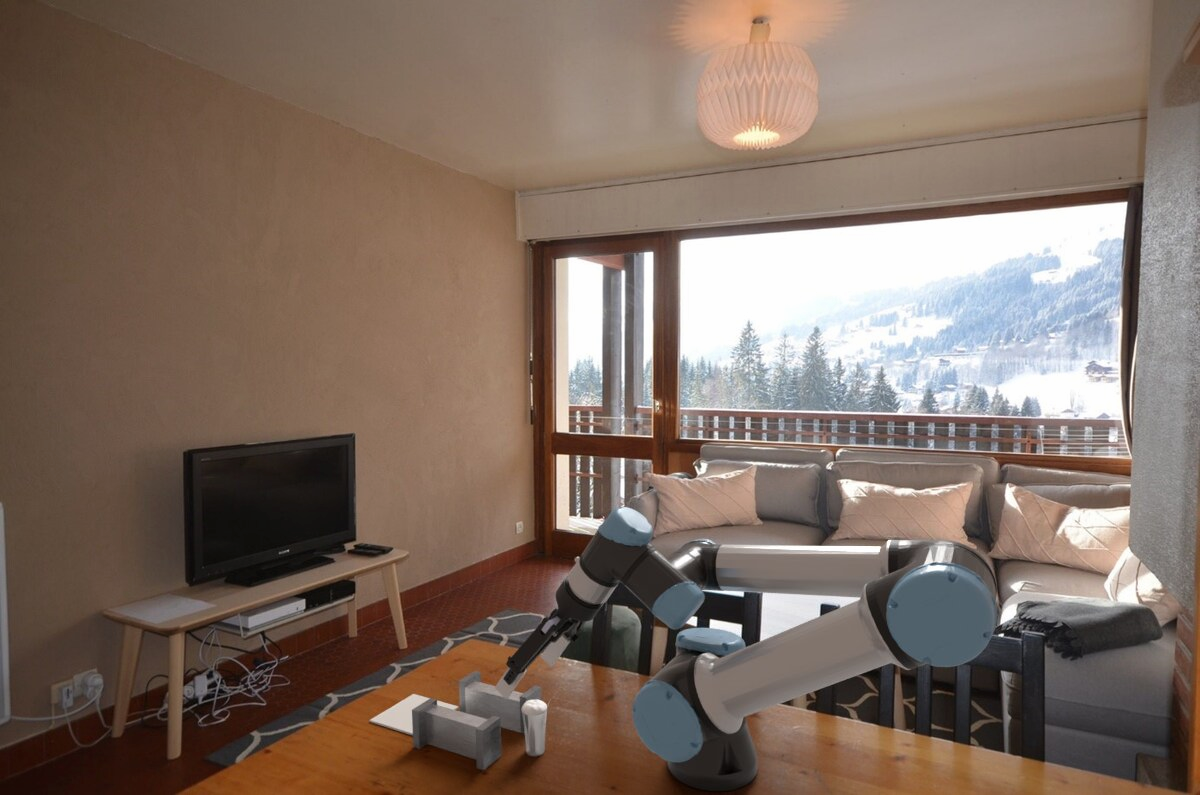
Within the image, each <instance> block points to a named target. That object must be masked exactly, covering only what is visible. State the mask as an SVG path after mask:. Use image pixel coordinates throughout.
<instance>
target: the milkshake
mask: <svg viewBox="0 0 1200 795" xmlns="http://www.w3.org/2000/svg"><path fill="white" fill-rule="evenodd" d="M551 700H552V698H550V699H549V701H548V704H547V703H546V702H544V700H542V701H541V700H538V699H536V700H528V701H526V702H525V703H524V705H523V706H522V717H523V724H524V732H525V734H524V741H525V751H526V755H528V756H530V757H538V756H539V757H540V756H542V755H543V754H545V751H546V750H545V748H546V747H545V746H546V727H547V717H548V708H549V704H550V702H551Z"/></svg>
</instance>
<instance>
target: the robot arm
mask: <svg viewBox="0 0 1200 795" xmlns="http://www.w3.org/2000/svg"><path fill="white" fill-rule="evenodd" d="M653 535H654V530H653V527H652V525H651V523H649V521H648V519H647V517H646V516H644V515H643V514H642V513H640V512H639V511H637V510H636V509H633V508H631V507H628V506H619V507H615V508H614V509H612V511H611V512H610V513H609V515H607V518H605V519H604V521H603V522H602V523H601V524H600V525H599V526H598V528H597V530H596V532H595V533H594V534H593V536H592V538H591V539H590V541H589V542H588V544H587V546H586V547H585V549H584V550H583V552H582V553H581V554H580V556H576V557H575V558H574V559H573V560H574V562H575V564H574V565H573V566H572V568H571V570H570V571H569V573H568V575H566V577H564V579H563V580H562V582H561V584H560V585H559V586H558V588H557V589H556V592H555V601H556V604H557V607H556V608H554V609H553V610H552V611H551V612H550V614H549V617H548V616H545V617H544V618H542V620H541V621H540V623H539V624H538V626H537V627H536V628H535V629H534V630H533V632H532V633H531V634H530V635H529V636H528V637H527V638H526V640H525V641H524V642H523V643H522V644H521V645H520V646H519V648H518V649H517V650H516V651H515V652H514V653H513V655H511V656H510V655H509V656H508V657H507V661H506V663H505V665H506V666H507V668H506V670H505V671H504V673H503V674H502V676H501V677H500V679H499V680H498V682H497V684H496V685H494V686H495V688H496V689H497V690H498V692H499V693H500V694H501V695H502V696H503V697H504V698H505V699H507V698H509V696H510V695H511V693H512V692H513V691H515V689H516V688H517V686H518V685H519V683H520V682H521V680H522V679H523V677H524V676H525V675H526V673H527V672H528V671H527V669H528V668H529V667H530V666H531V665H532V664H533V663H534V662H535V661H536V659H537V658H538V657H540V658H542V659H543V660H544V662H545V663H546V664H547V665H548V666H549V667H550V668H552V667H554V665H555V664H556V662H557V661H558V660H559V658H560V657H561V655H562V654H563V652H564V651H565V650H566V649H567V647H568V646H569V644H570V642H571V641H573V643H575V642H576V641H577V640H578V639H579V638H580V636H579V635H577V633H578V634H579V633H581V632H582V631H583V628H584V626H585V624H586V622H587V623H588V622H589V621H593V619H595V617H596V616H597V614H599V613H598V612H599V611H600V610H601V609H602V607H603V606H604V604H605V603H606V602H607V601H608V600H609V598H610V597H611V595H612V594H613V592H614V591H615V589H616V588H617V587H618V585H619V583H621V584H622V585H623V586H624V587H626V589H628V590H629V592H630V593H631V594H632V595H634V596H635V597H636V598H637V599H638V600H639V601H640V602H641V603H642V604H643V605H644V607H645V608H647V609H648V611H650V612H651V613H652V615H653V616H654V617H655V618H657V619H659V620H660V621H661V622H663V623H664V624H665V626H667V627H668V628H669V629H671V630H674V631H677V630H679V629H681V628H683V627H684V625H686V624H687V622H689V621H690V620H691V619H692V617H693V616H694V615H695V614H696V612H697V611H698V610H699V608H700V607H701V606H702V604H703V603H704V602H705V599H706V596H705V592H704V591H715V592H717V591H718V592H725V591H726V592H742V593H761V594H762V593H764V594H780V595H781V594H782V595H800V596H801V595H802V596H805V595H806V596H818V597H819V596H822V597H838V598H839V597H841V598H859V599H858V600H856V601H854V602H851V603H847V604H846V605H844V606H840V607H839V608H837V609H834V610H832V611H830V612H827V613H824V614H821V615H819V616H818V617H815V618H812V619H810V620H807V621H805V622H803V623H800V624H799V625H796V626H794V627H792V628H789V629H787V630H784V631H781V632H779V633H777V634H774V635H772V636H769V637H767V638H765V639H763V640H760V641H758V642H755V643H753V644H751V645H748V646H746V642H745V640H744V639H743V638H742V637H741V636H740V635H738V634H736V633H734V632H731V631H730V630H729V631H728V630H725V629H720V628H711V627H692V628H686V629H683V630H681V631H679V632H678V633H677V635H676V638H675V639H676V640H675V644H674V645H675V649H676V650H675V651H676V654H675V656H674V657H673V658H672V659H671V660H670V661H669V662H668V663H667V664H665V666H664V667H662V668H661V669H660V670H659V671H657V673H656V674H654V676H653V677H652V678H651V679H649V680H648V681H646V682H645V683H644V684H643V685H642V686H641V687H640V690H639V691H638V692H637V693H636V696H635V697H634V699H633V704H632V711H631V714H632V721H633V722H632V723H633V725H634V728H635V731H636V733H637V735H638V737H639V738H640V740H641V741H642V743H643V745H644V746H645V747H646V748H647V749H648V750H649V751H650V752H651V753H653V754H655V755H657V756H659V758H660V759H662V760H664V761H666V762H667V768H668V770H669V771H670V772H669V773H670V774H671V775H672V776H673V777H674V778H675V779H677V780H678V781H679V782H681V783H683V784H684V785H687V786H689V787H691V788H694V789H698V790H701V791H708V792H709V791H710V792H726V791H727V792H728V791H733V790H736V789H740V788H742V787H745V786H747V785H748V784H749V783H751V782H752V781H753V780H754V779H755V777H756V775H757V773H758V755H757V751H756V748H755V745H754V742H753V740H752V736H751V733H750V730H749V727H748V724H747V717H748V716H750V715H753V714H756V713H758V712H761V711H764V710H767V709H769V708H771V707H772V708H773V707H775V706H777V705H781V704H783V703H786V702H788V701H791V700H793V699H797V698H799V697H801V696H804V695H807V694H810V693H813V692H816V691H818V690H821V689H824V688H827V687H829V686H832V685H835V684H837V683H841V682H842V681H845V680H847V679H848V680H849V679H850V678H854V677H857V676H859V675H861V674H865V673H868V672H870V671H873V670H875V669H879V668H881V667H884V666H886V665H889V664H893V665H895V666H898V667H899V668H902V669H903V670H906V671H910V670H913V669H916V668H918V667H921V666H924V665H930V666H933V667H937V668H951V667H957V666H961V665H963V664H966V663H968V662H971V661H972V660H974V659H975V658H977V657H978V656H979V655H980V654H981V653H982V652H983V651H984V650H985V648H987V646H988V644H989V643H990V640H991V639H992V636H993V634H994V633H995V630H996V625H997V620H998V619H997V617H998V607H997V602H996V601H997V596H998V587H997V580H996V576H995V574H994V572H993V569H992V567H991V566H990V563H988V562H987V560H986V559H985V558H984V556H983V555H982V554H981V553H979V552H978V551H977V550H975V549H974V548H972V547H970V546H968V545H966V544H965V543H961V542H958V541H955V540H948V539H947V540H946V539H928V538H927V539H888V540H887V541H886V542H885V543H884V544H883V545H882V546H875V545H874V546H870V545H868V546H865V545H864V546H863V545H860V546H859V545H855V546H854V545H791V544H790V545H789V544H788V545H786V544H783V545H781V544H773V545H772V544H718V543H716V542H715V541H714V540H710V539H709V538H697V539H694V540H690V541H689V542H686V543H685V544H683V545H682V546H681V547H680V548H679V549H677V550H675V551H674V552H673V553H671V554H670V555H668V556H666V557H665V556H664V555H663V554H662V553H661V552H660V551H659V550H658V549H656V548H655V546H654V545H652V543H650V542H651V540H652V537H653ZM554 634H555V635H554ZM570 639H571V640H570Z"/></svg>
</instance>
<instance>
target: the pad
mask: <svg viewBox="0 0 1200 795" xmlns="http://www.w3.org/2000/svg"><path fill="white" fill-rule="evenodd" d="M428 699H430V697H426V696H423V695H420V694H416V693H412V694H411V695H408V697H406V698H404V699H402V700H401V701H399V702H397V703H396V704H394V705H393V706H390V708H387V709H385V710H384V711H382V712H381V713H379V714H378V715H375V716H374V717H372V718H371V719H369V722H370V723H371V724H375V725H378V726H381V727H385V728H388V729H390V730H394V731H398V732H400V733H404V734H407V735H410V736H413V727H412V709H414V708H416V707H417V706H419V705H420V704H422V703H424V702H425V701H427V700H428ZM437 705H439V706H442V707H446V708H449V709H453V710H456V711H458V710H460V705H459V706H458V705H456V704H455V705H454V704H451V703H449V702H448V703H447V702H444V701H440V700H437Z"/></svg>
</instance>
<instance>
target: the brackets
mask: <svg viewBox="0 0 1200 795" xmlns="http://www.w3.org/2000/svg"><path fill="white" fill-rule="evenodd" d="M495 686H496V685H494V684H493V685H492V684H489V683H484V682H482V672H481V671H479V670H474V671H472V672H470V673H469V674H467V675H465V676H464V677H463V678H461V679H459V680H458V694H459V710H453V709H449V708H446V707H442V706H439V705H437V701H438V699H436V698H433V697H431V698H430V697H429V698H430V699H428V700H427V701H425V702H424V703H422V704H420V705H419V706H417V707H416V708H414V709H412V727H413V735H412V745H413V748H414V749H417V750H421V749H422V748H424V747H425V746H427V745H430V746H433V747H435V748H439V749H441V750H445V751H448V752H451V753H455V754H458V755H461V756H462V757H463V756H464V757H466V758H470V759H472V760H476V769H479V770H482V771H485V770H486V769H487V768H490V767H489V766H491V765H492V764H493V763H495V762H496V761H497V760H498V759H500V758H501V757H502V735H501V734H502V733H501V732H502V731H501V730H502V729H507V730H509V731H512V732H513V731H514V732H517V733H520V734H524V735H525V732H524V724H523V717H522V706H523V705H524V703H525V702H526V701H528V700H536V699H538V700H541V701H543V700H542V686H538V685H535V684H534V685H533V686H532V687H530V688H529V689H528V690H526V691H525V692H520V691H516V690H513V692H512V693H511V695H510V696H509V698H507V699H505V698H504V697H503V696H502V695H501V694H500V693H499V692H498V690H497V689H496V688H495Z"/></svg>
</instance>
